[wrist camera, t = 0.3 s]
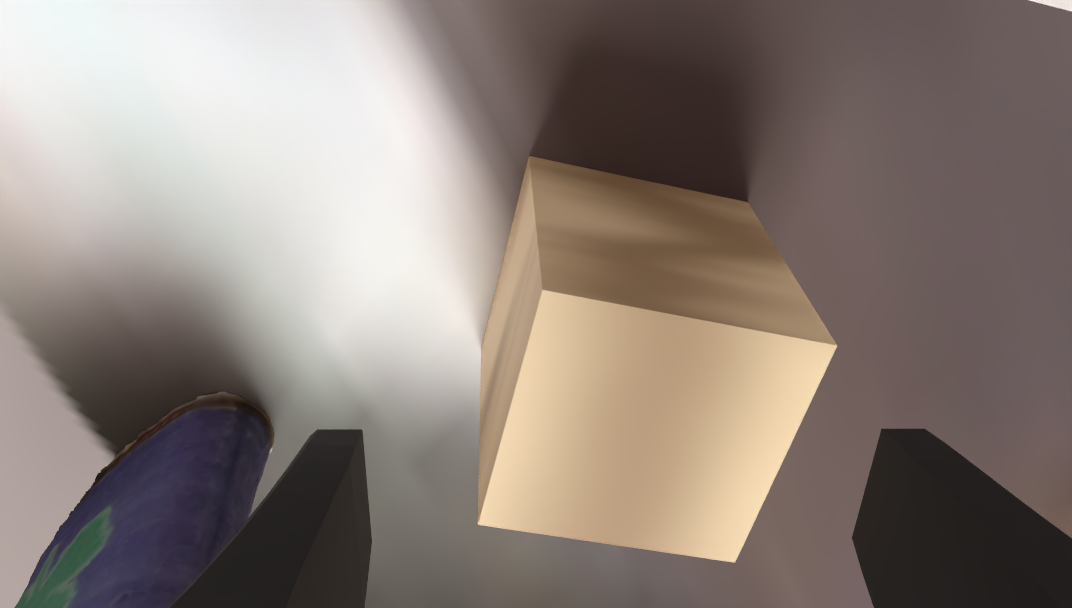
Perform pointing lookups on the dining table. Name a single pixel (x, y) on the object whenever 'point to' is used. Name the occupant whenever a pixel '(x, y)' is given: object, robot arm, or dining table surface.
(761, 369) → the block
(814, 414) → the dining table surface
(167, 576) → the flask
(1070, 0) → the plinth
